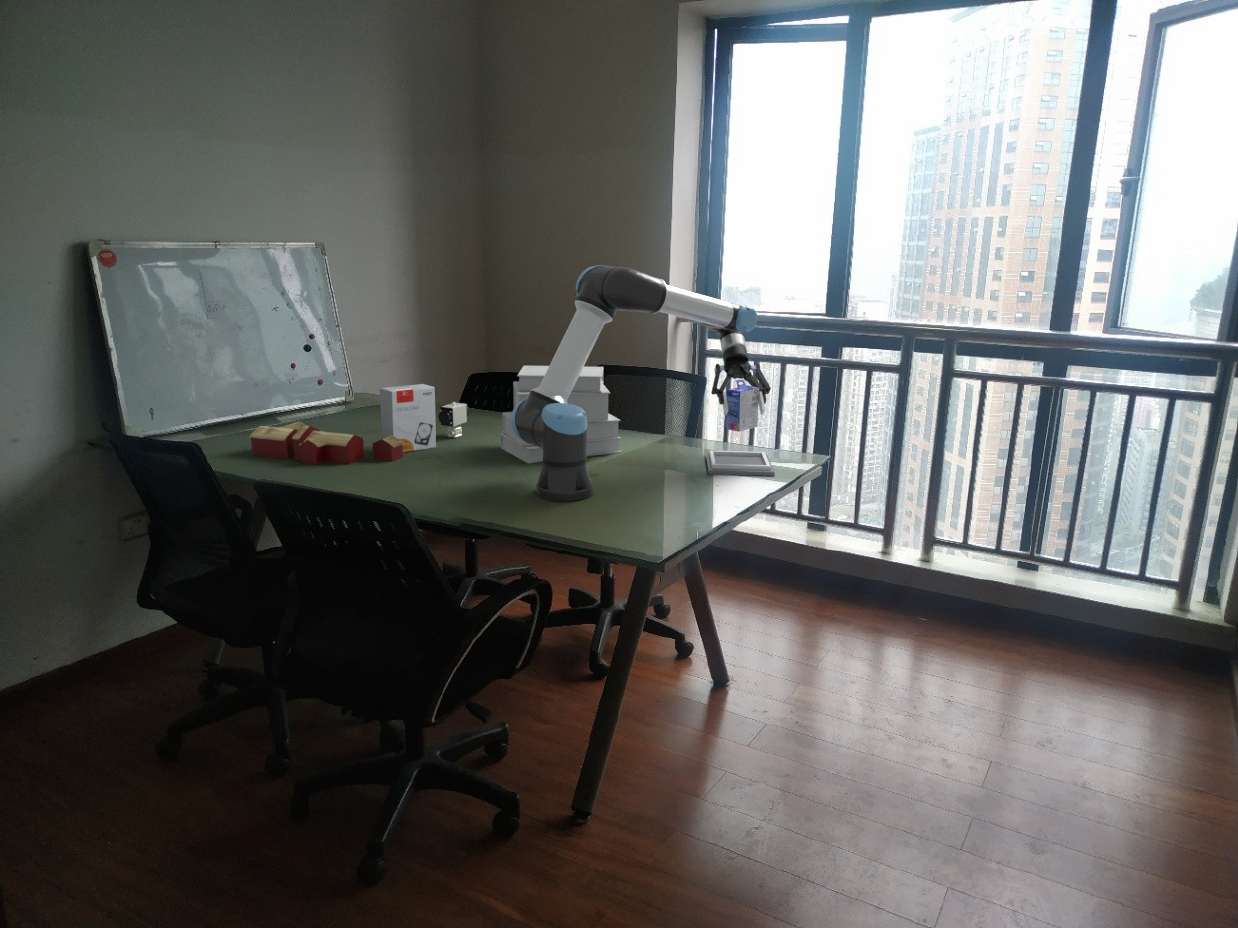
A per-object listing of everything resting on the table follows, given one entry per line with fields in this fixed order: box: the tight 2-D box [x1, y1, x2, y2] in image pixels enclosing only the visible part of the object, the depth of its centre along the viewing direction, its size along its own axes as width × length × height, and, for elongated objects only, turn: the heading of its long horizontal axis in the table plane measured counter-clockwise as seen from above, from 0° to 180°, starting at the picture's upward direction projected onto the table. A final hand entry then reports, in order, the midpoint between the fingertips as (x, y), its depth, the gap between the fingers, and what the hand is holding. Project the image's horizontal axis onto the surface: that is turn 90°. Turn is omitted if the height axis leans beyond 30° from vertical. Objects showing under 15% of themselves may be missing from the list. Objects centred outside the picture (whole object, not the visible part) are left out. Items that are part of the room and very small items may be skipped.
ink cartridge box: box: [725, 378, 759, 433], centre depth 257 cm, size 10×6×14 cm, turn 137°
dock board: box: [705, 450, 776, 477], centre depth 261 cm, size 19×21×2 cm
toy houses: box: [250, 421, 405, 466], centre depth 264 cm, size 45×20×10 cm, turn 71°
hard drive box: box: [379, 383, 437, 454], centre depth 273 cm, size 16×8×20 cm, turn 131°
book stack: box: [499, 365, 622, 464], centre depth 274 cm, size 30×35×26 cm
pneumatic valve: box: [438, 401, 470, 439], centre depth 291 cm, size 6×12×12 cm, turn 155°
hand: (744, 412), depth 255 cm, fingers closed on ink cartridge box, 10 cm apart
